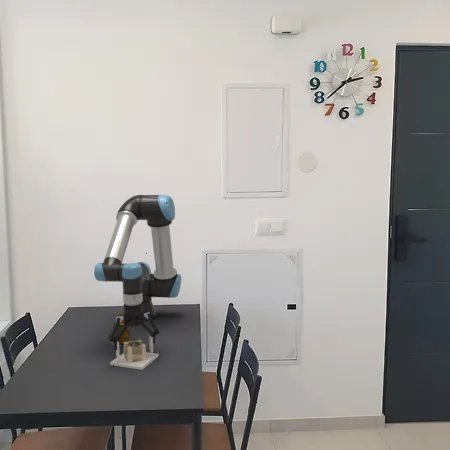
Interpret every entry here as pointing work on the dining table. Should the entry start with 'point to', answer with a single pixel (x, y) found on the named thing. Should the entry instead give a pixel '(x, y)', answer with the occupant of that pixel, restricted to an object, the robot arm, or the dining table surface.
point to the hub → (135, 365)
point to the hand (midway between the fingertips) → (134, 354)
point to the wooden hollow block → (134, 351)
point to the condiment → (125, 335)
